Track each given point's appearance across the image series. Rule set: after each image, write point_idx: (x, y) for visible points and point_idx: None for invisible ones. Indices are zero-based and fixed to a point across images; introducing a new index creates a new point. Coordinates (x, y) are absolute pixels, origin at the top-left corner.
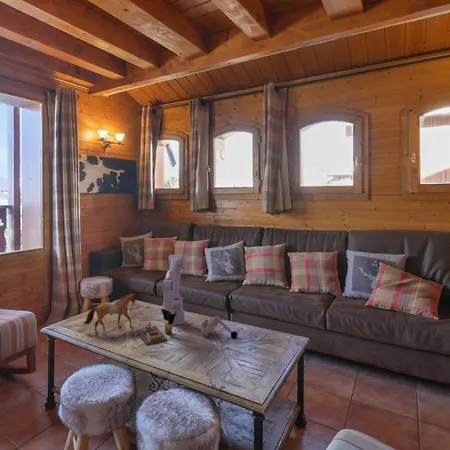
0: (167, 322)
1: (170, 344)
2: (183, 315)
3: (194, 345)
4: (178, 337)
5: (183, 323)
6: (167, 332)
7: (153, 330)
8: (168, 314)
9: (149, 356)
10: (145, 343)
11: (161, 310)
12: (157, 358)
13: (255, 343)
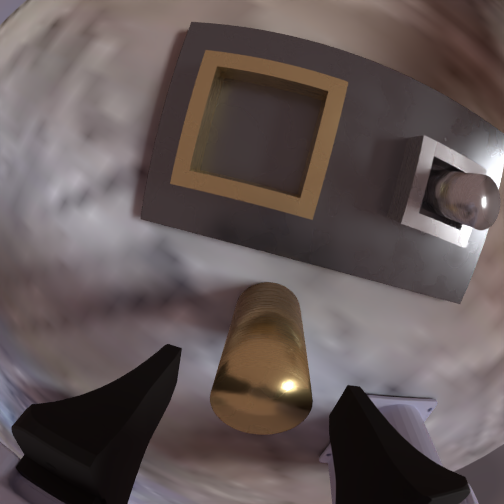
0: (229, 366)
1: (80, 195)
2: (333, 498)
3: (18, 301)
4: (144, 317)
5: (321, 454)
6: (246, 298)
7: (405, 233)
8: (13, 427)
9: (60, 14)
10: (222, 29)
11: (449, 473)
12: (21, 50)
13: (4, 420)
